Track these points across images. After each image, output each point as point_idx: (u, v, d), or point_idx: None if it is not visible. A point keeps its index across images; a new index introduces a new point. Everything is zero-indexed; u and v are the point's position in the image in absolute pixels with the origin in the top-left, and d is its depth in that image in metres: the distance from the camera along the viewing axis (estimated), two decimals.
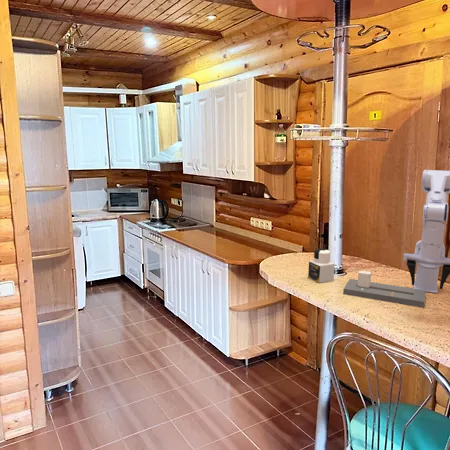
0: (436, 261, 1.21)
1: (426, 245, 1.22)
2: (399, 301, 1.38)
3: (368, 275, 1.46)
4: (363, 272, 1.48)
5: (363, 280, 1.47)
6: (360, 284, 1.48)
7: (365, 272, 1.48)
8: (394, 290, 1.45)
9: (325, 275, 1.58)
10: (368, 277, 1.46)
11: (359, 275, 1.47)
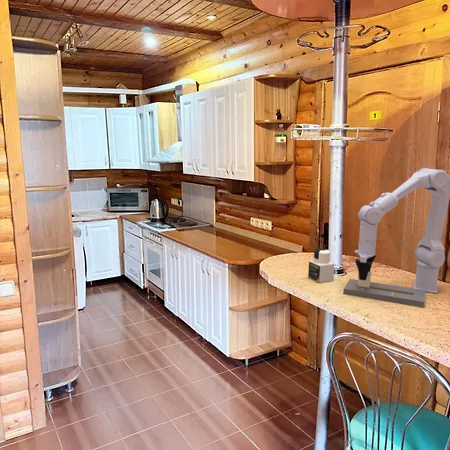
0: (358, 253, 1.46)
1: None
2: (399, 301, 1.38)
3: (368, 275, 1.46)
4: None
5: (363, 280, 1.47)
6: (360, 284, 1.48)
7: None
8: (394, 290, 1.45)
9: (325, 275, 1.58)
10: (368, 277, 1.46)
11: None
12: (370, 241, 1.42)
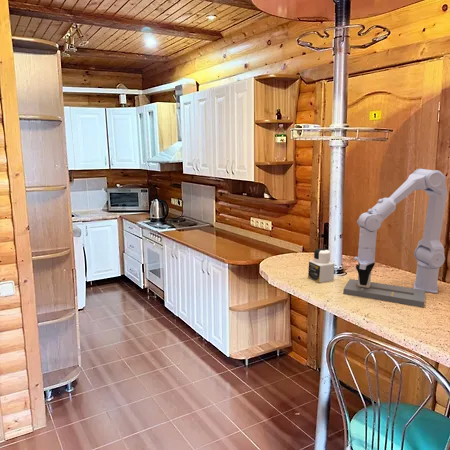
0: (357, 260, 1.46)
1: None
2: (399, 301, 1.38)
3: None
4: None
5: None
6: None
7: None
8: (394, 290, 1.45)
9: (325, 275, 1.58)
10: None
11: None
12: (369, 248, 1.43)
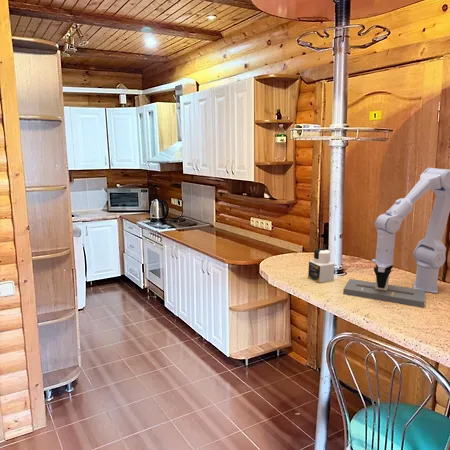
0: (375, 262, 1.44)
1: None
2: (399, 301, 1.38)
3: None
4: None
5: None
6: None
7: None
8: (394, 290, 1.45)
9: (325, 275, 1.58)
10: None
11: None
12: (388, 250, 1.40)
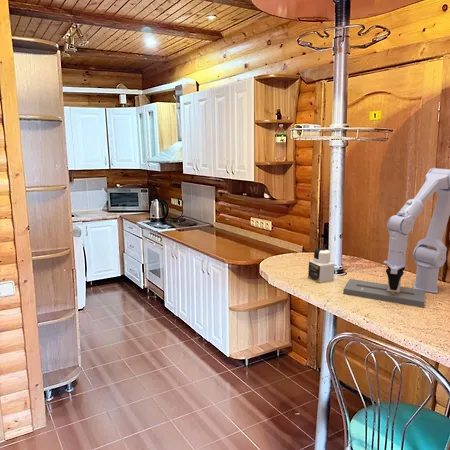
0: (387, 264, 1.42)
1: None
2: (399, 301, 1.38)
3: None
4: None
5: None
6: (390, 289, 1.43)
7: None
8: None
9: (325, 275, 1.58)
10: None
11: None
12: (400, 252, 1.39)
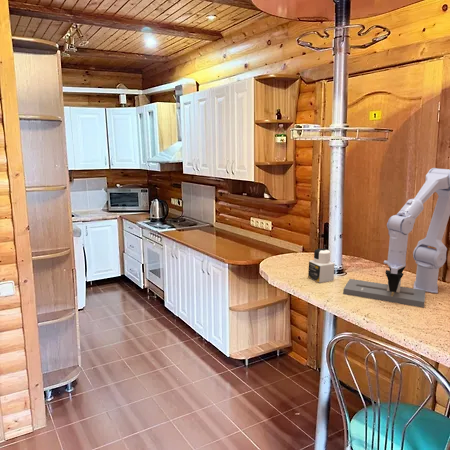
0: (387, 263, 1.42)
1: None
2: (399, 301, 1.38)
3: None
4: None
5: None
6: None
7: None
8: None
9: (325, 275, 1.58)
10: None
11: None
12: (401, 252, 1.39)
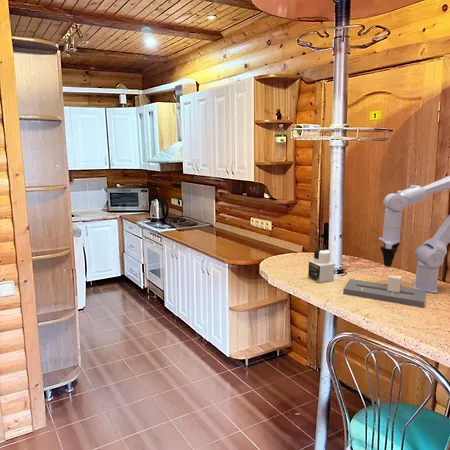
0: (382, 240, 1.49)
1: None
2: (399, 301, 1.38)
3: (398, 279, 1.42)
4: (393, 276, 1.43)
5: (393, 284, 1.43)
6: (390, 289, 1.43)
7: (395, 276, 1.43)
8: None
9: (325, 275, 1.58)
10: (398, 282, 1.42)
11: (389, 279, 1.43)
12: (395, 228, 1.46)
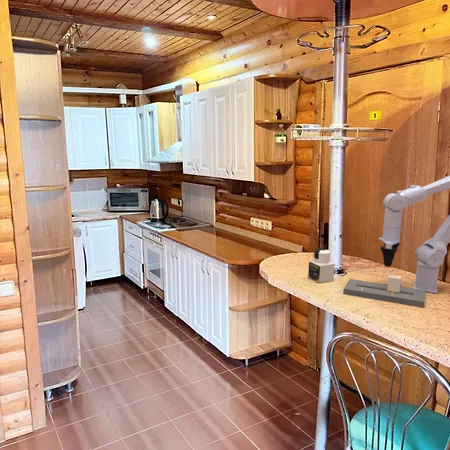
0: (382, 240, 1.49)
1: None
2: (399, 301, 1.38)
3: (398, 279, 1.42)
4: (393, 276, 1.43)
5: (393, 284, 1.43)
6: (390, 289, 1.43)
7: (395, 276, 1.43)
8: None
9: (325, 275, 1.58)
10: (398, 282, 1.42)
11: (389, 279, 1.43)
12: (395, 228, 1.46)
